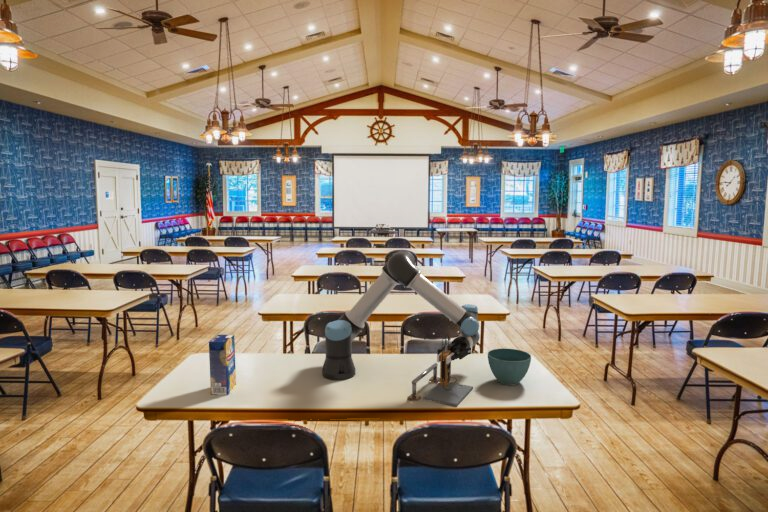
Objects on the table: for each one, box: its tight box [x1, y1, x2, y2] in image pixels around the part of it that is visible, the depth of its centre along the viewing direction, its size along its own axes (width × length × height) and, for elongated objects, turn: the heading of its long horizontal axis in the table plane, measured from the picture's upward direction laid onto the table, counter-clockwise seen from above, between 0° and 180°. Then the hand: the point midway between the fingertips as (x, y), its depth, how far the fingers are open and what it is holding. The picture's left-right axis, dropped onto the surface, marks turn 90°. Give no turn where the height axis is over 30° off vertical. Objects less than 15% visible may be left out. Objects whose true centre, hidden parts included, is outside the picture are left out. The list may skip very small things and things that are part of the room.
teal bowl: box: [487, 348, 532, 386], centre depth 215 cm, size 18×18×12 cm
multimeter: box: [439, 334, 464, 390], centre depth 200 cm, size 15×10×20 cm
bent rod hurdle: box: [407, 362, 440, 402], centre depth 206 cm, size 4×26×8 cm, turn 152°
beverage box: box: [208, 334, 237, 396], centre depth 204 cm, size 7×11×22 cm, turn 0°
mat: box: [422, 381, 474, 407], centre depth 202 cm, size 14×20×1 cm
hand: (442, 359), depth 198 cm, fingers closed on multimeter, 3 cm apart
